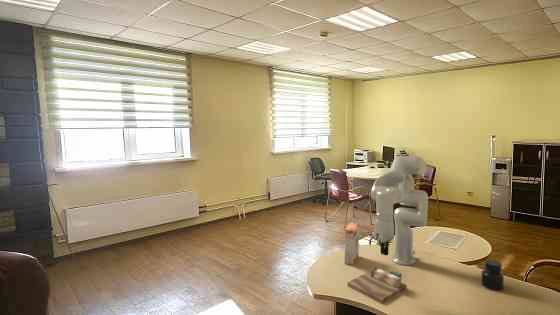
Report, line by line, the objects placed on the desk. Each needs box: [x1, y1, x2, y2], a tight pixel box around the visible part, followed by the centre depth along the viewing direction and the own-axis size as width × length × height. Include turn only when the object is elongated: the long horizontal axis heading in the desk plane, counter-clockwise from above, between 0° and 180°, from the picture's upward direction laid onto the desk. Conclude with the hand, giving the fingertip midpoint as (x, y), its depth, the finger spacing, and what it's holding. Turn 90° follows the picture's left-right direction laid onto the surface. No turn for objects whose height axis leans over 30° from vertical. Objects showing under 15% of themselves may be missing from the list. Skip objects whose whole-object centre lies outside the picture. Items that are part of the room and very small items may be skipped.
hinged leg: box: [370, 266, 402, 288], centre depth 156 cm, size 16×3×4 cm, turn 38°
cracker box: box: [344, 222, 360, 266], centre depth 184 cm, size 14×6×21 cm, turn 155°
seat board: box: [347, 269, 407, 305], centre depth 154 cm, size 20×20×7 cm
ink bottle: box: [480, 259, 505, 291], centre depth 152 cm, size 10×9×12 cm
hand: (384, 254), depth 148 cm, fingers closed
